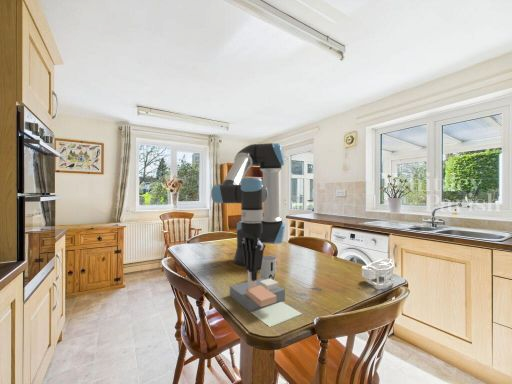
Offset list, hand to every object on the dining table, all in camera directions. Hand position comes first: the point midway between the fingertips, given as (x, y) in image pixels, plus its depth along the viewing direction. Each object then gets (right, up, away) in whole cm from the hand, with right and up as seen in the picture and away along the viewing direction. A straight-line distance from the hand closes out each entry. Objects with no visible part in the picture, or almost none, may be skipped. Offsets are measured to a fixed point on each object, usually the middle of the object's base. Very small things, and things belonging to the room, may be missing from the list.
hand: (252, 288), depth 83 cm
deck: (+2, -5, +4) cm, 7 cm away
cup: (+7, -6, +22) cm, 24 cm away
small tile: (+6, -1, +5) cm, 8 cm away
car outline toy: (+57, -6, +23) cm, 62 cm away
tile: (+3, -2, -4) cm, 5 cm away
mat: (+8, -5, -7) cm, 12 cm away
